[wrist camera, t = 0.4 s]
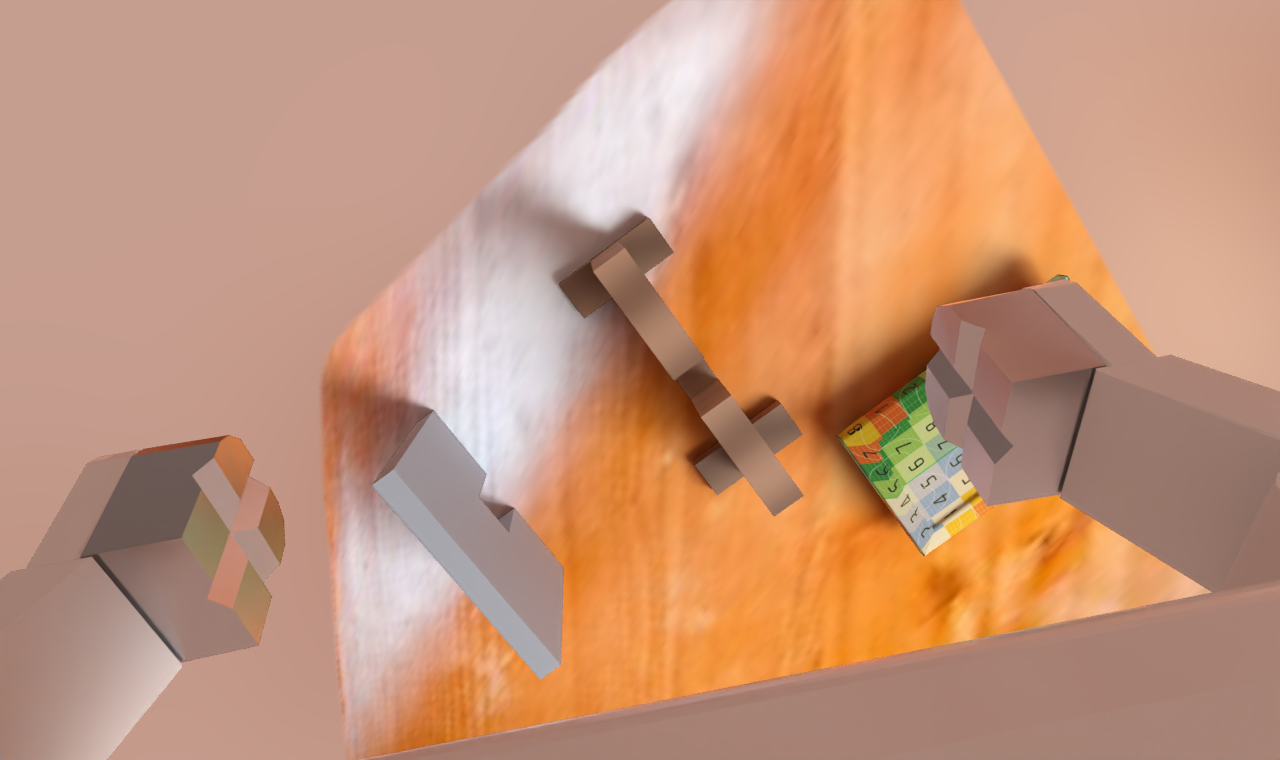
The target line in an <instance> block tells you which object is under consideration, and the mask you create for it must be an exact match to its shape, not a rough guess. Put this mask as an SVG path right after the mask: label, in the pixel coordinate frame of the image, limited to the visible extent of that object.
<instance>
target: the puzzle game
mask: <svg viewBox="0 0 1280 760" xmlns="http://www.w3.org/2000/svg"><path fill="white" fill-rule="evenodd" d="M1063 279H1066V280H1069V278H1068V276H1064V275H1056V276H1055V277H1054V278H1052V279H1051V280H1049V281H1048V282H1046V283H1049V282H1054V281H1059V280H1063ZM925 383H926V370H925V371H924V372H922V373H921V374H920V375H918V376H917V377H916V378H914V379H913V380H911V381H910V382H909V383H907V384H906V385H905V386H903V387H902V388H900V389H899V390H898V391H896V392H895V393H894V394H892V395H891V396H889V397H888V398H887V399H885V400H884V401H883V402H881V403H880V404H878V405H877V406H876V407H875V408H873V409H872V410H870V411H869V412H868V413H866V414H865V415H864V416H862V417H861V418H859V419H858V420H857V421H855V422H854V423H853V424H851V425H850V426H848V427H847V428H846V429H844V430H843V431H842V432H841V433H840V434H839V435H837V437H838V439H839V440H840V442H841V443H842V444H843V446H844V447H845V448H846V450H847V451H848V453H849V454H850V455H851V457H852V458H853V460H854V461H855V462H856V464H857V465H858V467H859V468H860V469H861V471H862V472H863V474H864V475H865V476H866V478H867V479H868V481H869V482H870V483H871V485H872V486H873V488H874V489H875V490H876V492H877V493H878V495H879V496H880V497H881V499H882V500H883V502H884V503H885V504H886V506H887V507H888V509H889V510H890V511H891V513H892V514H893V516H894V517H895V518H896V520H897V521H898V522H899V524H900V525H901V527H902V528H903V529H904V531H905V532H906V534H907V535H908V536H909V538H910V539H911V541H912V542H913V543H914V545H915V546H916V548H917V549H918V550H919V552H920V553H921V554H922V555H923V556H925V555H927V554H928V553H929V552H931V551H932V550H934V549H935V548H936V547H938V546H939V545H941V544H942V543H943V542H945V541H946V540H948V539H949V538H951V537H952V536H953V535H955V534H956V533H958V532H959V531H960V530H962V529H963V528H965V527H966V526H967V525H969V524H970V523H972V522H973V521H975V520H976V519H977V518H979V517H980V516H982V515H983V514H984V513H986V512H987V511H989V510H990V509H992V508H993V507H995V506H996V505H993V506H986V504H985V503H984V501H983V500H982V498H981V497H980V495H979V493H978V492H977V490H976V489H975V487H974V486H973V484H972V483H971V481H970V480H969V478H968V477H967V475H966V473H965V472H964V470H963V469H962V467H961V460H962V453H963V449H961V448H959V447H957V446H955V445H953V444H951V443H949V442H947V441H945V440H944V439H943V437H942V436H941V434H940V433H939V431H938V429H937V428H936V426H935V424H934V421H933V419H932V416H931V414H930V411H929V408H928V402H927V396H926V390H925Z"/></svg>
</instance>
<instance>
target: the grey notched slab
mask: <svg viewBox="0 0 1280 760" xmlns="http://www.w3.org/2000/svg"><path fill="white" fill-rule="evenodd" d="M486 475H487V474H486V473H485V472H484V471H483V469H482V468H481V467H480V466H479V465H478V463H477V462H476V461H475V460H474V459H473V457H472V456H471V455H470V454H469V452H468V451H467V450H466V449H465V448H464V446H463V445H462V444H461V443H460V442H459V440H458V439H457V438H456V437H455V436H454V434H453V433H452V432H451V431H450V429H449V428H448V427H447V426H446V425H445V423H444V422H443V421H442V420H441V419H440V417H439V416H438V415H437V414H436V412H435V411H432V412H431V413H429V414H428V415H427V416H425V417H424V418H423V419H421V420H420V421H419V422H417V423H416V425H415V426H414V427H413V429H412V430H411V432H410V433H409V434H408V436H407V437H406V439H405V440H404V441H403V443H402V444H401V445H400V447H399V448H398V450H397V451H396V452H395V454H394V455H393V457H392V458H391V459H390V461H389V462H388V464H387V465H386V466H385V468H384V469H383V470H382V472H381V473H380V475H379V476H378V477H377V479H376V480H375V482H374V483H373V484H372V486H373V488H374V489H375V490H376V491H377V492H378V493H379V495H380V496H381V497H382V498H383V499H384V500H385V501H386V503H387V504H388V505H389V506H390V507H391V508H392V509H393V511H394V512H395V513H396V514H397V515H398V516H399V518H400V519H401V520H402V521H403V522H404V523H405V524H406V526H407V527H408V528H409V529H410V530H411V531H412V533H413V534H414V535H415V536H416V537H417V538H418V539H419V541H420V542H421V543H422V544H423V545H424V546H425V548H426V549H427V550H428V551H429V552H430V553H431V554H432V556H433V557H434V558H435V559H436V560H437V561H438V562H439V564H440V565H441V566H442V567H443V568H444V569H445V571H446V572H447V573H448V574H449V575H450V576H451V577H452V579H453V580H454V581H455V582H456V583H457V584H458V586H459V587H460V588H461V589H462V590H463V591H464V592H465V594H466V595H467V596H468V597H469V598H470V599H471V600H472V602H473V603H474V604H475V605H476V606H477V607H478V609H479V610H480V611H481V612H482V613H483V614H484V615H485V617H486V618H487V619H488V620H489V621H490V622H491V624H492V625H493V626H494V627H495V628H496V629H497V630H498V632H499V633H500V634H501V635H502V636H503V637H504V639H505V640H506V641H507V642H508V643H509V644H510V645H511V647H512V648H513V649H514V650H515V651H516V652H517V653H518V655H519V656H520V657H521V658H522V659H523V660H524V662H525V663H526V664H527V665H528V666H529V667H530V668H531V670H532V671H533V672H534V673H535V674H536V675H537V677H538V678H539V679H542V678H543V677H545V676H546V675H547V674H549V673H550V672H552V671H553V670H555V669H556V668H557V667H559V666H560V665H561V642H562V610H563V577H564V568H563V566H562V565H561V564H560V563H559V561H558V560H557V559H556V558H555V557H554V555H553V554H552V553H551V552H550V551H549V549H548V548H547V547H546V546H545V545H544V543H543V542H542V541H541V540H540V538H539V537H538V536H537V535H536V534H535V532H534V531H533V530H532V529H531V528H530V526H529V525H528V524H527V523H526V522H525V520H524V519H523V518H522V517H521V515H520V514H519V513H518V512H517V511H516V509H515V508H513V509H512V510H511V511H509V512H508V513H506V514H505V515H504V516H502V517H501V518H500V519H497V518H496V517H495V516H494V514H493V513H492V512H491V511H490V510H489V508H488V507H487V506H486V505H485V504H484V502H483V501H482V500H481V499H480V498H479V496H480V493H481V490H482V487H483V484H484V481H485V478H486Z"/></svg>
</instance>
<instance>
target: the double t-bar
mask: <svg viewBox="0 0 1280 760" xmlns="http://www.w3.org/2000/svg"><path fill="white" fill-rule="evenodd" d="M672 253H674V252H673V250H672V249H671V248H670V246H669V245H668V243H667V242H666V241H665V239H664V238H663V236H662V235H661V233H660V232H659V231H658V229H657V228H656V226H655V225H654V224H653V222H652V221H651V219H650V218H647V219H645V220H644V221H643V222H641V223H640V224H639V225H637V226H636V227H635V228H633V229H632V230H631V231H629V232H628V233H626V234H625V235H624V236H622V237H621V238H620V239H618V240H617V241H616V242H614V243H613V244H612V245H610V246H609V247H608V248H606V249H605V250H604V251H602V252H601V253H600V254H598V255H597V256H596V257H594V258H593V259H591V260H590V261H589V262H587V263H586V264H585V265H583V266H582V267H581V268H579V269H578V270H577V271H575V272H574V273H573V274H571V275H570V276H569V277H567V278H566V279H565V280H563V281H562V282H560V283H559V285H560V287H561V288H562V289H563V291H564V292H565V293H566V295H567V296H568V297H569V299H570V300H571V301H572V303H573V304H574V305H575V307H576V308H577V309H578V311H579V312H580V313H581V315H582V316H583V317H584V318H585V317H587V316H588V315H589V314H591V313H592V312H594V311H595V310H596V309H598V308H599V307H600V306H602V305H603V304H604V303H606V302H607V301H608V300H610V299H611V298H613V299H614V300H615V302H616V303H617V304H618V306H619V307H620V309H621V310H622V311H623V313H624V314H625V315H626V317H627V318H628V319H629V321H630V322H631V323H632V325H633V326H634V328H635V329H636V330H637V332H638V333H639V334H640V336H641V337H642V338H643V340H644V341H645V342H646V344H647V345H648V346H649V348H650V349H651V351H652V352H653V353H654V355H655V356H656V357H657V359H658V360H659V361H660V363H661V364H662V365H663V367H664V368H665V370H666V371H667V372H668V374H669V375H670V376H671V378H672V379H673V380H675V379H676V381H677V382H678V383H679V385H680V386H681V387H682V389H683V390H684V392H685V393H686V394H687V396H688V397H689V398H690V400H691V402H692V403H693V405H694V407H695V408H696V410H697V412H698V413H699V415H700V417H701V418H702V420H703V421H704V422H705V424H706V425H707V426H708V428H709V429H710V431H711V432H712V433H713V435H714V436H715V437H716V439H717V440H718V441H719V442H718V443H717V444H715V445H714V446H712V447H711V448H710V449H708V450H707V451H705V452H704V453H703V454H701V455H700V456H698V457H697V458H696V459H694V460H693V462H694V465H695V466H696V468H697V469H698V470H699V472H700V473H701V474H702V476H703V477H704V478H705V480H706V481H707V482H708V484H709V485H710V486H711V488H712V489H713V490H714V492H715V493H716V494H717V495H718V494H720V493H721V492H722V491H724V490H725V489H727V488H728V487H729V486H731V485H732V484H734V483H735V482H736V481H738V480H739V479H741V478H742V477H743V476H744V477H745V478H746V479H747V481H748V482H749V483H750V485H751V486H752V487H753V489H754V490H755V492H756V493H757V494H758V496H759V497H760V498H761V500H762V501H763V502H764V504H765V505H766V506H767V508H768V509H769V510H770V512H771V513H772V515H773V516H776V515H777V514H778V513H780V512H781V511H783V510H784V509H786V508H787V507H788V506H790V505H791V504H793V503H794V502H795V501H797V500H798V499H800V498H801V497H803V496H804V495H803V494H802V492H801V491H800V490H799V488H798V487H797V486H796V484H795V483H794V481H793V480H792V479H791V477H790V476H789V474H788V473H787V472H786V470H785V469H784V468H783V466H782V465H781V463H780V462H779V461H778V459H777V458H776V456H775V455H774V454H776V453H777V452H779V451H780V450H781V449H783V448H784V447H786V446H787V445H788V444H790V443H791V442H793V441H794V440H795V439H797V438H798V437H800V436H801V435H802V433H801V431H800V430H799V428H798V427H797V426H796V424H795V423H794V421H793V420H792V419H791V417H790V416H789V414H788V413H787V412H786V410H785V409H784V407H783V406H782V404H781V403H780V402H779V401H778V400H777V401H775V402H774V403H772V404H771V405H770V406H768V407H767V408H765V409H764V410H763V411H761V412H760V413H758V414H757V415H756V416H754V417H753V418H752V419H750V420H749V419H748V418H747V416H746V415H745V414H744V412H743V411H742V409H741V408H740V407H739V405H738V404H737V402H736V401H735V400H734V398H733V397H732V396H731V394H730V393H729V392H728V391H727V389H726V388H725V387H724V386H723V384H722V383H721V382H720V381H719V380H718V378H717V377H716V375H715V374H714V373H713V371H712V370H711V369H710V367H709V366H708V364H707V363H706V362H705V360H704V357H703V355H702V354H701V353H700V351H699V350H698V348H697V347H696V346H695V344H694V343H693V342H692V340H691V339H690V337H689V336H688V335H687V333H686V332H685V330H684V329H683V328H682V326H681V325H680V324H679V322H678V321H677V319H676V318H675V317H674V315H673V314H672V312H671V311H670V310H669V308H668V307H667V306H666V304H665V303H664V301H663V300H662V299H661V297H660V296H659V294H658V293H657V292H656V290H655V289H654V288H653V286H652V285H651V283H650V282H649V281H648V279H647V278H646V276H645V275H644V274H645V273H646V272H648V271H649V270H651V269H652V268H653V267H655V266H656V265H657V264H659V263H660V262H661V261H663V260H664V259H665V258H667V257H668V256H670V255H671V254H672Z"/></svg>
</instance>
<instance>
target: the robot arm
mask: <svg viewBox="0 0 1280 760" xmlns="http://www.w3.org/2000/svg"><path fill="white" fill-rule="evenodd" d="M930 335H931V337H932V338H933V339H934V341H935V342H936V344H937V345H938V346H939V348H940V350H939V351H938V352H937V354H936V355H935V356H934V357H933V358H932V360H931V361H930V362H929V363H928V364H927V370H926V383H925V390H926V396H927V402H928V408H929V411H930V414H931V416H932V419H933V421H934V424H935V426H936V428H937V429H938V431H939V433H940V434H941V436H942V437H943V439H944V440H945V441H947V442H949V443H951V444H953V445H955V446H957V447H959V448H961V449H963V453H962V460H961V467H962V469H963V470H964V472H965V473H966V475H967V477H968V478H969V480H970V481H971V483H972V484H973V486H974V487H975V489H976V490H977V492H978V493H979V495H980V497H981V498H982V500H983V501H984V503H985V504H986V506H993V505H999V504H1005V503H1011V502H1017V501H1023V500H1029V499H1035V498H1042V497H1048V496H1054V495H1060V494H1061V496H1060V498H1061V499H1063V500H1064V501H1066V502H1067V503H1069V504H1071V505H1072V506H1074V507H1076V508H1077V509H1079V510H1080V511H1082V512H1084V513H1085V514H1087V515H1088V516H1090V517H1092V518H1093V519H1095V520H1097V521H1098V522H1100V523H1101V524H1103V525H1105V526H1106V527H1108V528H1109V529H1111V530H1113V531H1114V532H1116V533H1117V534H1119V535H1121V536H1122V537H1124V538H1126V539H1127V540H1129V541H1130V542H1132V543H1134V544H1135V545H1137V546H1138V547H1140V548H1142V549H1143V550H1145V551H1147V552H1148V553H1150V554H1151V555H1153V556H1155V557H1156V558H1158V559H1159V560H1161V561H1163V562H1164V563H1166V564H1168V565H1169V566H1171V567H1172V568H1174V569H1176V570H1177V571H1179V572H1180V573H1182V574H1184V575H1185V576H1187V577H1188V578H1190V579H1192V580H1193V581H1195V582H1197V583H1198V584H1200V585H1201V586H1203V587H1205V588H1206V589H1208V590H1209V591H1211V592H1213V593H1208V594H1203V595H1198V596H1193V597H1188V598H1183V599H1178V600H1173V601H1168V602H1162V603H1157V604H1152V605H1147V606H1142V607H1137V608H1132V609H1127V610H1122V611H1117V612H1111V613H1106V614H1101V615H1096V616H1091V617H1086V618H1081V619H1076V620H1071V621H1065V622H1060V623H1055V624H1050V625H1045V626H1040V627H1035V628H1030V629H1025V630H1019V631H1014V632H1009V633H1004V634H999V635H994V636H989V637H984V638H979V639H974V640H968V641H963V642H958V643H953V644H948V645H943V646H938V647H933V648H928V649H922V650H917V651H912V652H907V653H902V654H897V655H892V656H887V657H882V658H876V659H871V660H866V661H861V662H856V663H851V664H846V665H841V666H836V667H830V668H825V669H820V670H815V671H810V672H805V673H800V674H795V675H790V676H785V677H780V678H774V679H769V680H764V681H759V682H754V683H749V684H744V685H739V686H734V687H729V688H723V689H718V690H713V691H708V692H703V693H698V694H693V695H688V696H683V697H678V698H673V699H667V700H662V701H657V702H652V703H647V704H642V705H637V706H632V707H627V708H622V709H616V710H611V711H606V712H601V713H596V714H591V715H586V716H581V717H576V718H571V719H566V720H560V721H555V722H550V723H545V724H540V725H535V726H530V727H525V728H520V729H515V730H509V731H504V732H499V733H494V734H489V735H484V736H479V737H474V738H468V739H463V740H458V741H453V742H448V743H443V744H438V745H433V746H428V747H422V748H417V749H412V750H407V751H402V752H397V753H392V754H387V755H381V756H376V757H371V758H366V759H361V760H1280V392H1279V391H1277V390H1274V389H1270V388H1268V387H1264V386H1262V385H1259V384H1256V383H1253V382H1250V381H1247V380H1244V379H1241V378H1238V377H1235V376H1232V375H1229V374H1226V373H1223V372H1220V371H1217V370H1214V369H1211V368H1208V367H1205V366H1202V365H1199V364H1196V363H1193V362H1190V361H1187V360H1185V359H1182V358H1179V357H1175V356H1173V355H1168V356H1162V357H1156V356H1155V355H1154V354H1153V353H1152V352H1151V351H1150V350H1149V349H1148V348H1147V347H1146V346H1144V345H1143V344H1142V343H1141V342H1140V341H1139V340H1138V339H1137V338H1136V337H1135V336H1134V335H1133V334H1132V333H1130V332H1129V331H1128V330H1127V329H1126V328H1125V327H1124V326H1123V325H1122V324H1121V323H1120V322H1119V321H1117V320H1116V319H1115V318H1114V317H1113V316H1112V315H1111V314H1110V313H1109V312H1108V311H1107V310H1106V309H1105V308H1103V307H1102V306H1101V305H1100V304H1099V303H1098V302H1097V301H1096V300H1095V299H1094V298H1093V297H1092V296H1090V295H1089V294H1088V293H1087V292H1086V291H1085V290H1084V289H1083V288H1082V287H1081V286H1080V285H1079V284H1078V283H1076V282H1073V281H1070V280H1066V279H1063V280H1059V281H1054V282H1049V283H1045V284H1040V285H1035V286H1030V287H1026V288H1023V289H1022V290H1018V291H1013V292H1008V293H1002V294H997V295H992V296H986V297H981V298H976V299H970V300H965V301H960V302H954V303H949V304H944V305H939V306H938V307H937V309H936V311H935V313H934V315H933V319H932V326H931V334H930ZM253 462H254V459H253V457H252V456H251V454H250V453H249V451H248V450H247V448H246V447H245V445H244V443H243V442H242V440H241V439H239V438H236V437H233V436H230V435H226V436H220V437H214V438H208V439H202V440H195V441H189V442H183V443H177V444H170V445H164V446H158V447H152V448H146V449H143V450H139V451H138V450H137V451H136V450H135V451H130V452H124V453H118V454H113V455H107V456H101V457H98V458H96V459H95V460H93V461H91V462H89V463H87V464H86V466H85V467H84V469H83V471H82V473H81V474H80V476H79V478H78V480H77V481H76V483H75V485H74V486H73V488H72V490H71V492H70V493H69V495H68V497H67V499H66V500H65V502H64V504H63V506H62V507H61V509H60V511H59V512H58V514H57V516H56V518H55V519H54V521H53V523H52V525H51V526H50V528H49V530H48V531H47V533H46V535H45V537H44V538H43V540H42V542H41V543H40V545H39V547H38V549H37V550H36V552H35V554H34V556H33V557H32V559H31V561H30V562H29V564H28V566H27V568H26V569H22V570H17V571H12V572H10V573H9V574H7V575H6V576H5V577H4V578H2V579H1V580H0V760H107V759H108V758H109V757H110V755H111V754H112V753H113V752H114V750H115V749H116V748H117V747H118V745H119V744H120V743H121V742H122V741H123V739H124V738H125V737H126V736H127V734H128V733H129V732H130V731H131V730H132V728H133V727H134V726H135V724H136V723H137V722H138V721H139V720H140V718H141V717H142V716H143V715H144V714H145V712H146V711H147V710H148V709H149V707H150V706H151V705H152V704H153V702H154V701H155V700H156V699H157V698H158V696H159V695H160V694H161V693H162V691H163V690H164V689H165V687H166V686H167V685H168V684H169V683H170V682H171V680H172V679H173V678H174V677H175V675H176V674H177V673H178V672H179V670H180V669H181V668H182V667H183V666H182V664H181V662H186V661H190V660H195V659H200V658H204V657H209V656H213V655H218V654H222V653H227V652H232V651H236V650H241V649H245V648H250V647H254V646H258V645H259V642H260V638H261V635H262V631H263V628H264V624H265V620H266V617H267V613H268V609H269V606H270V602H271V598H272V596H271V594H270V592H269V591H268V589H267V588H266V586H265V585H264V583H263V582H264V581H265V580H266V579H267V578H268V577H269V576H270V575H271V574H272V573H273V572H274V571H275V570H276V569H277V568H278V567H279V566H280V564H281V560H282V556H283V551H284V547H285V530H284V519H283V515H282V512H281V509H280V506H279V502H278V501H277V499H276V497H275V495H274V494H273V492H272V490H271V488H270V487H269V486H266V485H265V484H263V483H261V482H259V481H257V480H255V479H253V478H252V477H250V476H249V474H250V471H251V468H252V465H253Z"/></svg>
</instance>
